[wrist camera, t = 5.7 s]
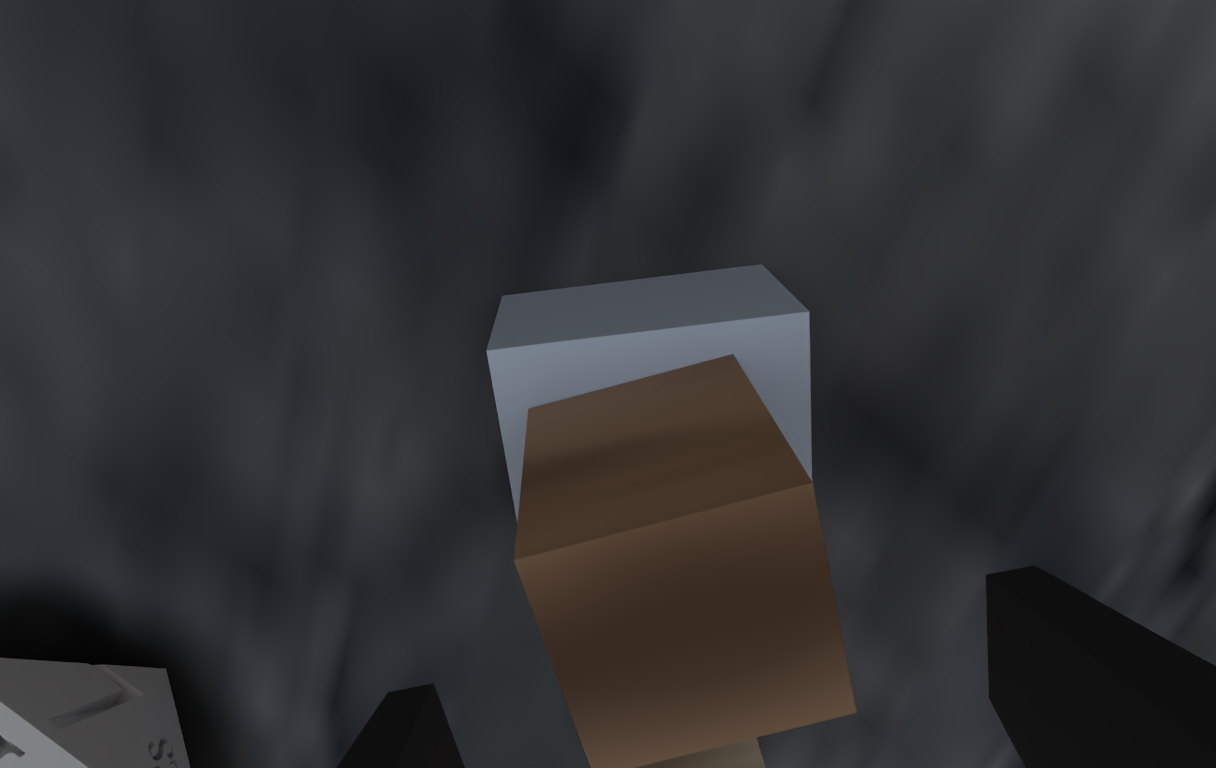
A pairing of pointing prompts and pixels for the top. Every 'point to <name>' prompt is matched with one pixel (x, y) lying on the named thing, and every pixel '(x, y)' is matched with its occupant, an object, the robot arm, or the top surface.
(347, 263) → the top surface
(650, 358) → the base block
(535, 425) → the walnut block
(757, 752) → the maple block
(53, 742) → the die
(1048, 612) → the robot arm
